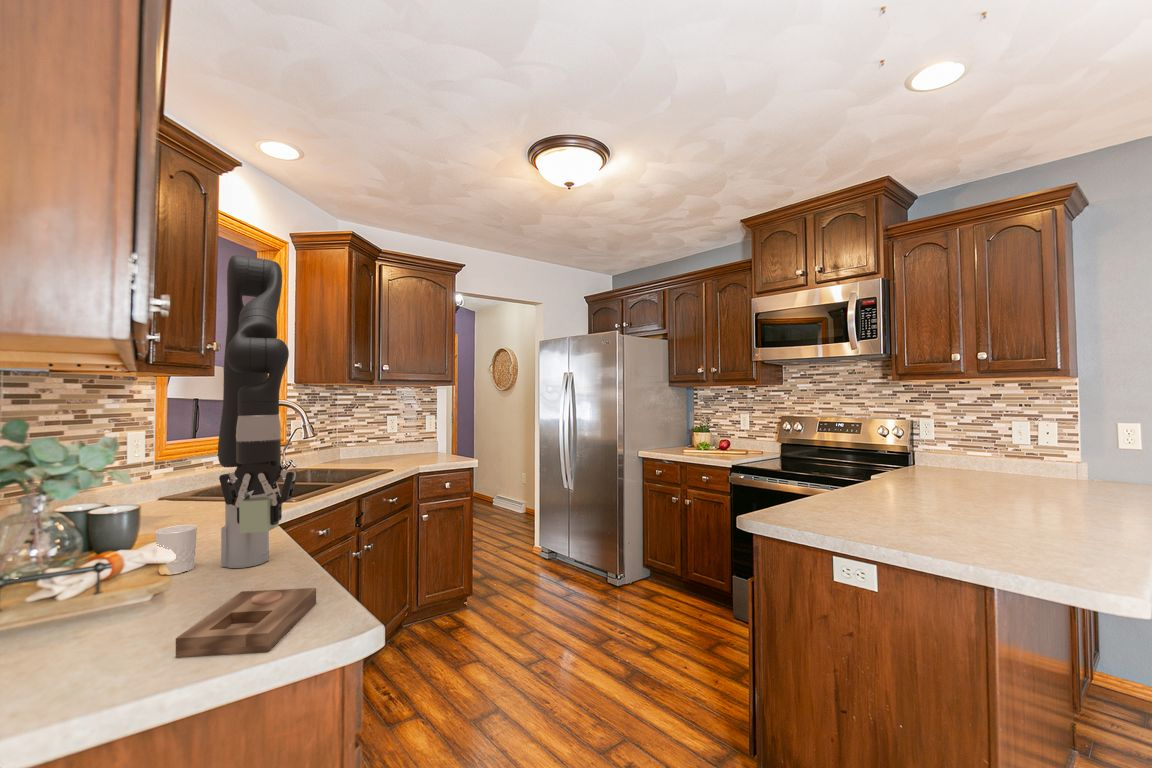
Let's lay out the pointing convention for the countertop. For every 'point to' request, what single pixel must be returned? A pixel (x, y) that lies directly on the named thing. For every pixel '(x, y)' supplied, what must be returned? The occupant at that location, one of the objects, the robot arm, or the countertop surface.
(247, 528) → the green block
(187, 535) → the white cup
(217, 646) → the puzzle board
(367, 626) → the countertop surface
